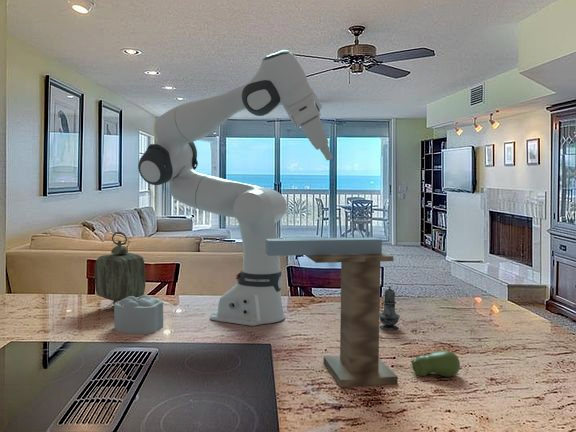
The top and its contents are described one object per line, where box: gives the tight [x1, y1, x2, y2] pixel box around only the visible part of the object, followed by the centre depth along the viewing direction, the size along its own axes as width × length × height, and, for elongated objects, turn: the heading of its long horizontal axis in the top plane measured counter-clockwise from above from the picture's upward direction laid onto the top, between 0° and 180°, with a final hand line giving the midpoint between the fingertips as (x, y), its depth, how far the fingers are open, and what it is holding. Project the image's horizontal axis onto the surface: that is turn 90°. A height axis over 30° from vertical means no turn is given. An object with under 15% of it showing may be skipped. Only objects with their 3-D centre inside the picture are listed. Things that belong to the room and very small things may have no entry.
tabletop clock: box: [94, 231, 147, 312], centre depth 161 cm, size 14×9×25 cm, turn 58°
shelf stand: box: [304, 251, 399, 388], centre depth 107 cm, size 17×14×26 cm
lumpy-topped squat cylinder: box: [113, 294, 164, 335], centre depth 140 cm, size 10×13×9 cm
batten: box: [266, 236, 383, 257], centre depth 105 cm, size 24×4×3 cm, turn 100°
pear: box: [410, 350, 461, 378], centre depth 107 cm, size 6×5×10 cm
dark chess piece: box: [379, 285, 401, 332], centre depth 142 cm, size 6×6×12 cm
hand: (328, 154), depth 135 cm, fingers open, 8 cm apart
